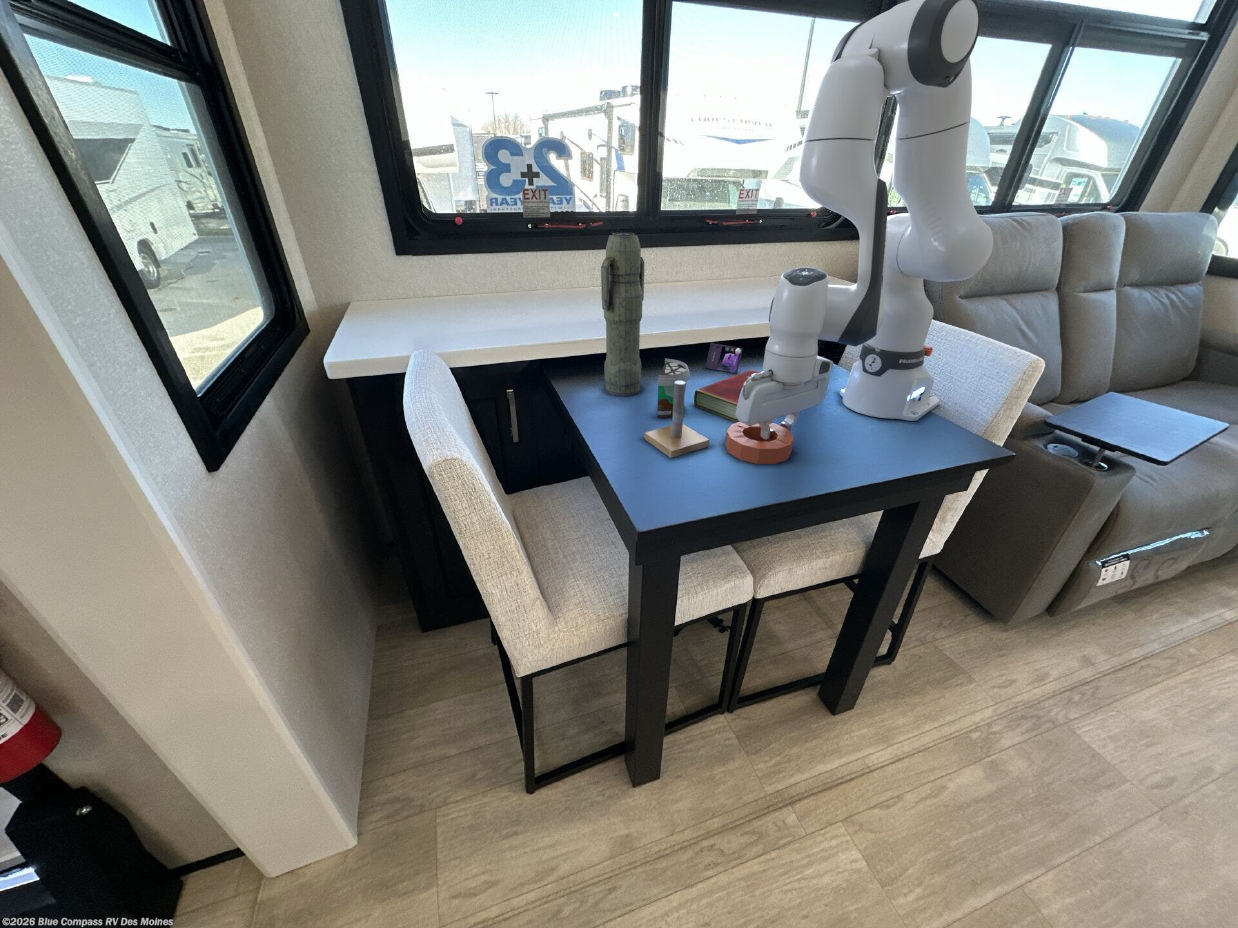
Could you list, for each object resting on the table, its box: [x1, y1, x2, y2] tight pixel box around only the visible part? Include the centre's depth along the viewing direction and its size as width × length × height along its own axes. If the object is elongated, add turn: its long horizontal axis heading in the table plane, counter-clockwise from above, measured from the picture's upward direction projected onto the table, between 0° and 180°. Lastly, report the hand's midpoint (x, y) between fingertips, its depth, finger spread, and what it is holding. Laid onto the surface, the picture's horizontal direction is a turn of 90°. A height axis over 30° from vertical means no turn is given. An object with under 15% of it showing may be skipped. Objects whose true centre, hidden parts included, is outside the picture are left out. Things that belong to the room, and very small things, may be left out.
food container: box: [656, 358, 691, 419], centre depth 106 cm, size 12×6×10 cm, turn 168°
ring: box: [724, 421, 795, 465], centre depth 92 cm, size 12×12×3 cm
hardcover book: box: [693, 369, 762, 423], centre depth 112 cm, size 12×21×4 cm, turn 132°
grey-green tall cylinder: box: [600, 232, 645, 397], centre depth 111 cm, size 9×12×35 cm
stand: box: [644, 381, 710, 459], centre depth 92 cm, size 9×9×12 cm
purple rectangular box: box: [705, 342, 743, 374], centre depth 133 cm, size 7×5×9 cm
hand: (776, 434), depth 94 cm, fingers open, 4 cm apart
